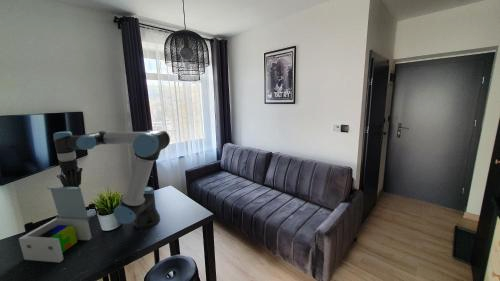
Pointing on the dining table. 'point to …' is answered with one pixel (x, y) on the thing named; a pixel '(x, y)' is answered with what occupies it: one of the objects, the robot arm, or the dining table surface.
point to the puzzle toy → (62, 236)
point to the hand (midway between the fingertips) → (75, 198)
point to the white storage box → (51, 240)
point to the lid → (69, 202)
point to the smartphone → (91, 212)
